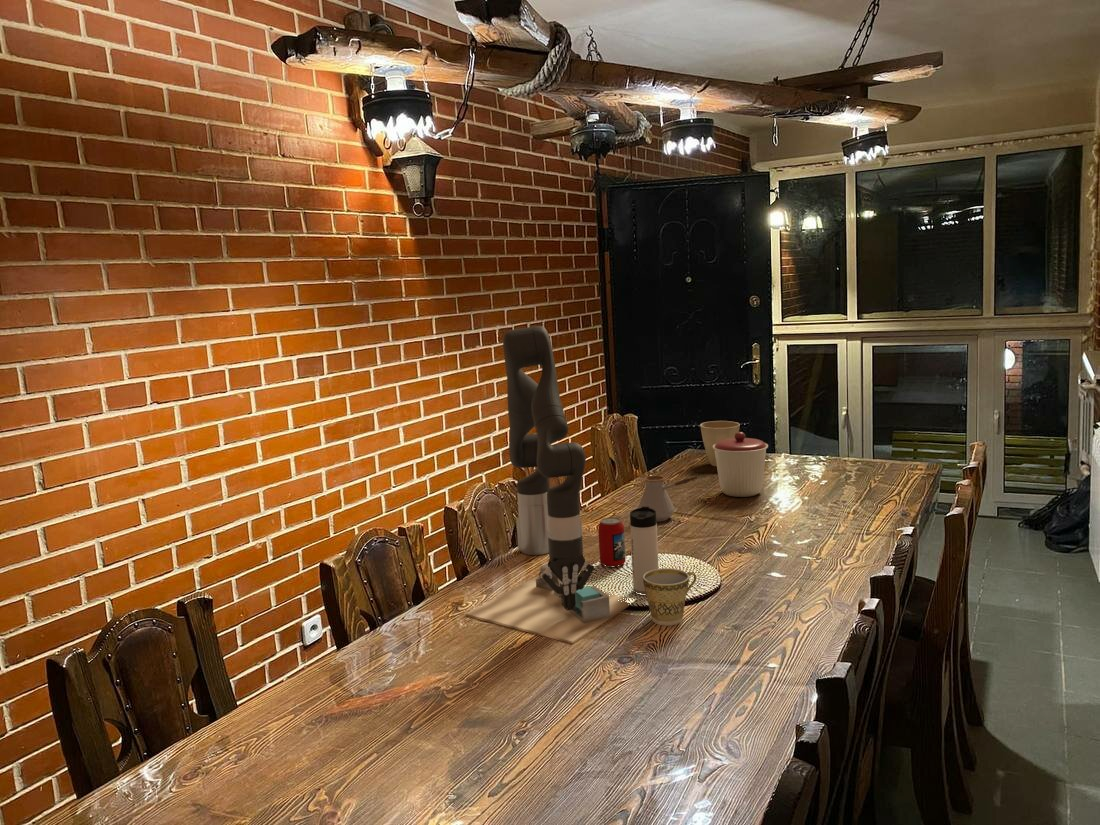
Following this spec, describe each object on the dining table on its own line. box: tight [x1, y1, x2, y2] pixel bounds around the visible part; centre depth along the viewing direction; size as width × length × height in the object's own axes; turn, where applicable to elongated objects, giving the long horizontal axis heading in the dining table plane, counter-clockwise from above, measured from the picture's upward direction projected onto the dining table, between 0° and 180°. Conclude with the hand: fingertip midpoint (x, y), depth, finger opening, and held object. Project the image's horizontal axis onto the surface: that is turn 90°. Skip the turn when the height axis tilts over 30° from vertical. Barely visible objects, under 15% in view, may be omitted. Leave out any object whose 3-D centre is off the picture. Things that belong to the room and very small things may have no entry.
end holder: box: [570, 585, 611, 624], centre depth 182 cm, size 7×7×5 cm
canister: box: [713, 431, 769, 498], centre depth 274 cm, size 18×18×21 cm
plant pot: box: [699, 420, 741, 467], centre depth 317 cm, size 15×15×16 cm
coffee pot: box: [637, 475, 702, 522], centre depth 250 cm, size 21×12×15 cm, turn 53°
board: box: [465, 576, 633, 645], centre depth 189 cm, size 30×26×2 cm
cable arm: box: [539, 563, 600, 610], centre depth 192 cm, size 25×4×4 cm, turn 24°
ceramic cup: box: [643, 567, 697, 627], centre depth 179 cm, size 13×10×10 cm
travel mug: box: [629, 506, 660, 594], centre depth 194 cm, size 6×7×20 cm
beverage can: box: [598, 516, 626, 567], centre depth 214 cm, size 7×7×12 cm
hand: (568, 608), depth 181 cm, fingers closed
